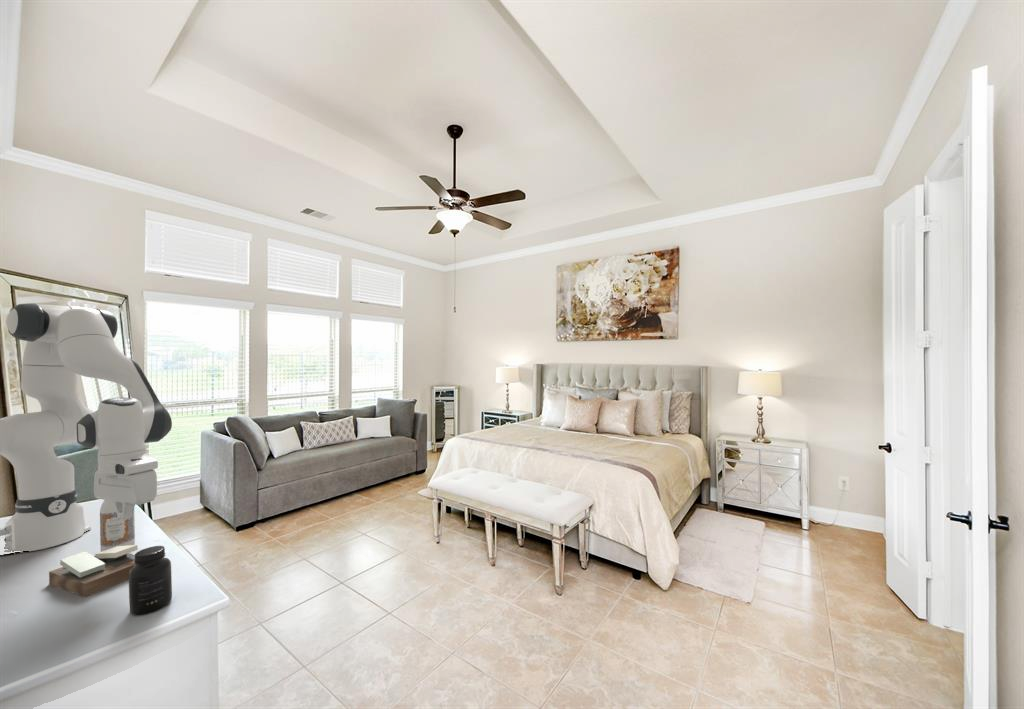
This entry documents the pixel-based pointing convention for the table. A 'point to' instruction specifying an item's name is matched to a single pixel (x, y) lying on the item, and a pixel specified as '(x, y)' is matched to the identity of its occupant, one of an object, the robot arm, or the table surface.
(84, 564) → the block
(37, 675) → the table surface
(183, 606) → the table surface
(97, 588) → the switch plate
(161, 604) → the supplement bottle
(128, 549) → the block
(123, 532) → the bath foam
